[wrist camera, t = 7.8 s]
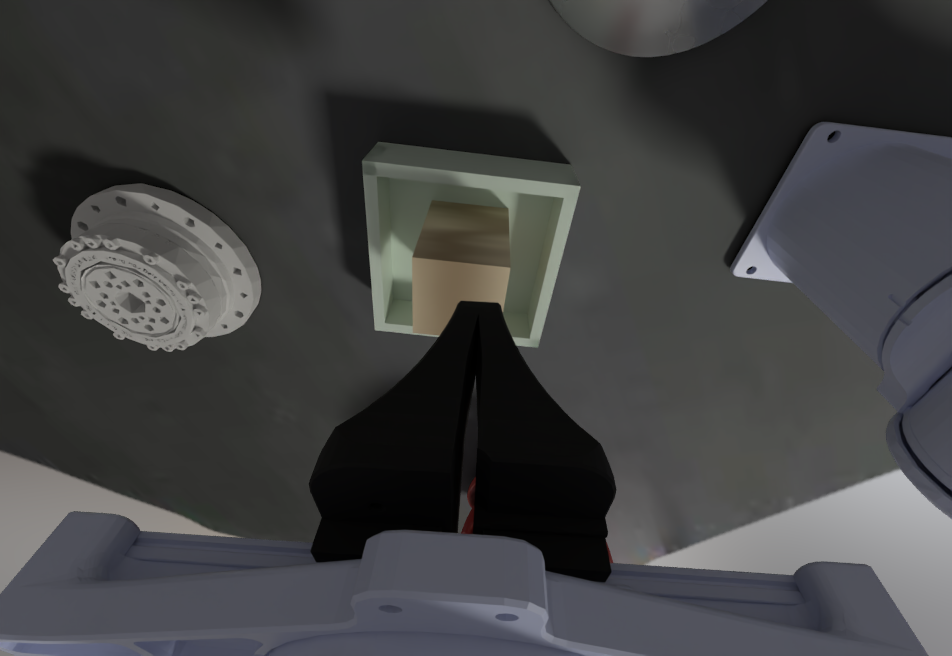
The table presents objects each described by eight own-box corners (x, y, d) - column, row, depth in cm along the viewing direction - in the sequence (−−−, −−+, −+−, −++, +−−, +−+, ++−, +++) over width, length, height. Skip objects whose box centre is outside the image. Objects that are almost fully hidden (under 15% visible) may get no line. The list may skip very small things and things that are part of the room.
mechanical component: (220, 176, 22) (49, 184, 22) (167, 210, 18) (-33, 218, 19) (286, 322, 28) (151, 325, 29) (256, 368, 24) (103, 369, 25)
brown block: (508, 208, 21) (510, 267, 16) (498, 274, 23) (498, 341, 19) (432, 200, 21) (411, 257, 16) (430, 266, 23) (412, 332, 19)
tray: (571, 164, 20) (580, 186, 18) (534, 316, 26) (537, 347, 24) (378, 141, 20) (361, 160, 17) (386, 300, 26) (374, 330, 24)
